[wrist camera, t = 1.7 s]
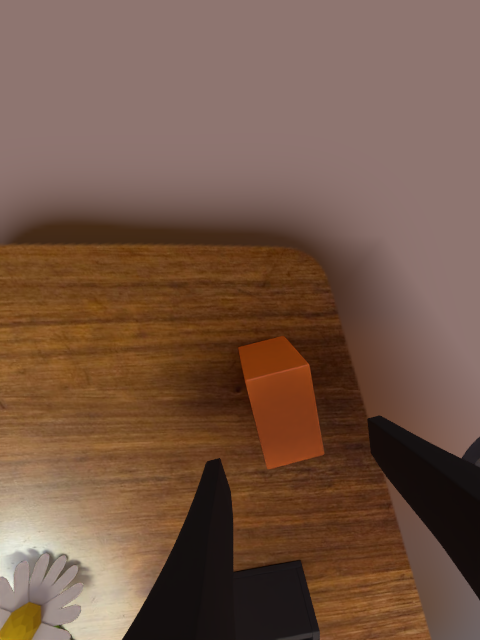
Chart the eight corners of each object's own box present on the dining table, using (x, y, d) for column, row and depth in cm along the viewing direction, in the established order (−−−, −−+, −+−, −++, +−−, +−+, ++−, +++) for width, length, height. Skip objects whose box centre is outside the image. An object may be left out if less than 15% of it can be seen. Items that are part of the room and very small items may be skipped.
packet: (283, 335, 17) (309, 364, 12) (297, 404, 18) (325, 455, 13) (237, 346, 16) (244, 380, 12) (254, 414, 18) (267, 470, 13)
